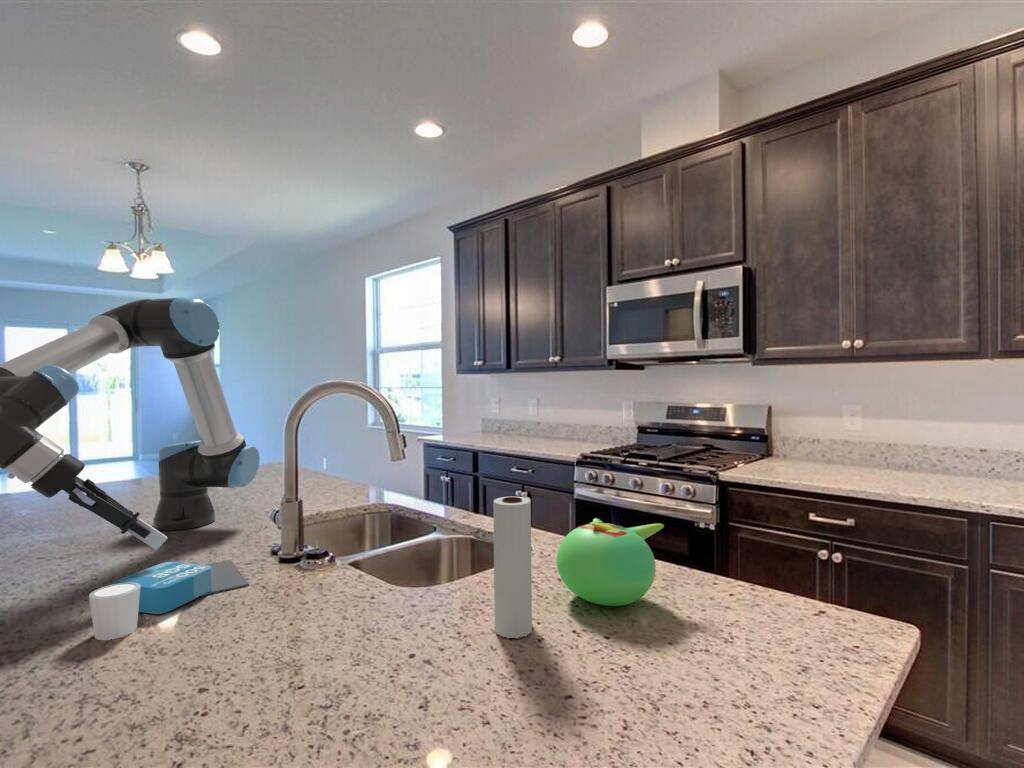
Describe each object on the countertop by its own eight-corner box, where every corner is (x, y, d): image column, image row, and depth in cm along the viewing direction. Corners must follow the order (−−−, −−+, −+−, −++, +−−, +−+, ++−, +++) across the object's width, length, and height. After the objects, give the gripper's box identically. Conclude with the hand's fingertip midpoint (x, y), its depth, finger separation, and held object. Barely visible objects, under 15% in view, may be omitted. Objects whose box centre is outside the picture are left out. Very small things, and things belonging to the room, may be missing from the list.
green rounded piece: (539, 600, 100) (538, 520, 99) (592, 574, 112) (591, 503, 112) (625, 631, 87) (625, 540, 87) (674, 598, 100) (674, 519, 100)
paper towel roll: (505, 643, 84) (503, 505, 83) (488, 627, 89) (487, 497, 89) (545, 632, 87) (544, 499, 87) (527, 618, 93) (525, 492, 92)
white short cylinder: (150, 627, 91) (150, 585, 91) (105, 645, 85) (104, 601, 85) (125, 619, 94) (124, 579, 94) (80, 637, 88) (79, 594, 87)
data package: (166, 560, 109) (215, 565, 106) (167, 583, 109) (216, 588, 106) (107, 583, 97) (160, 589, 94) (108, 608, 97) (161, 615, 94)
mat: (152, 607, 99) (152, 605, 99) (145, 578, 113) (145, 576, 113) (248, 585, 108) (248, 583, 108) (230, 561, 123) (230, 559, 123)
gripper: (31, 479, 100) (143, 551, 110) (24, 491, 90) (148, 569, 100) (67, 448, 103) (173, 520, 114) (65, 456, 93) (181, 534, 103)
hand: (161, 543), depth 107 cm, fingers closed
